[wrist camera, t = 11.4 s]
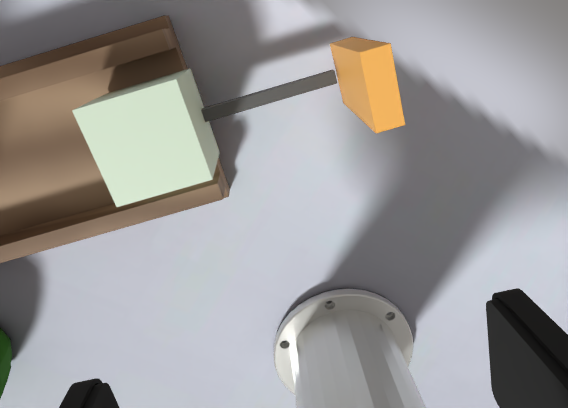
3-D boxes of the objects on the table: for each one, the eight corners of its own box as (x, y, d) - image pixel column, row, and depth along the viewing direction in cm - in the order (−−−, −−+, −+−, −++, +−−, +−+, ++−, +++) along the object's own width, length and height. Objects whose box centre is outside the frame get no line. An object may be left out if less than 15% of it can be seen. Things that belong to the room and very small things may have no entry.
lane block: (365, 109, 32) (408, 143, 23) (140, 175, 33) (98, 232, 24) (347, 20, 30) (386, 21, 21) (105, 94, 30) (44, 123, 22)
